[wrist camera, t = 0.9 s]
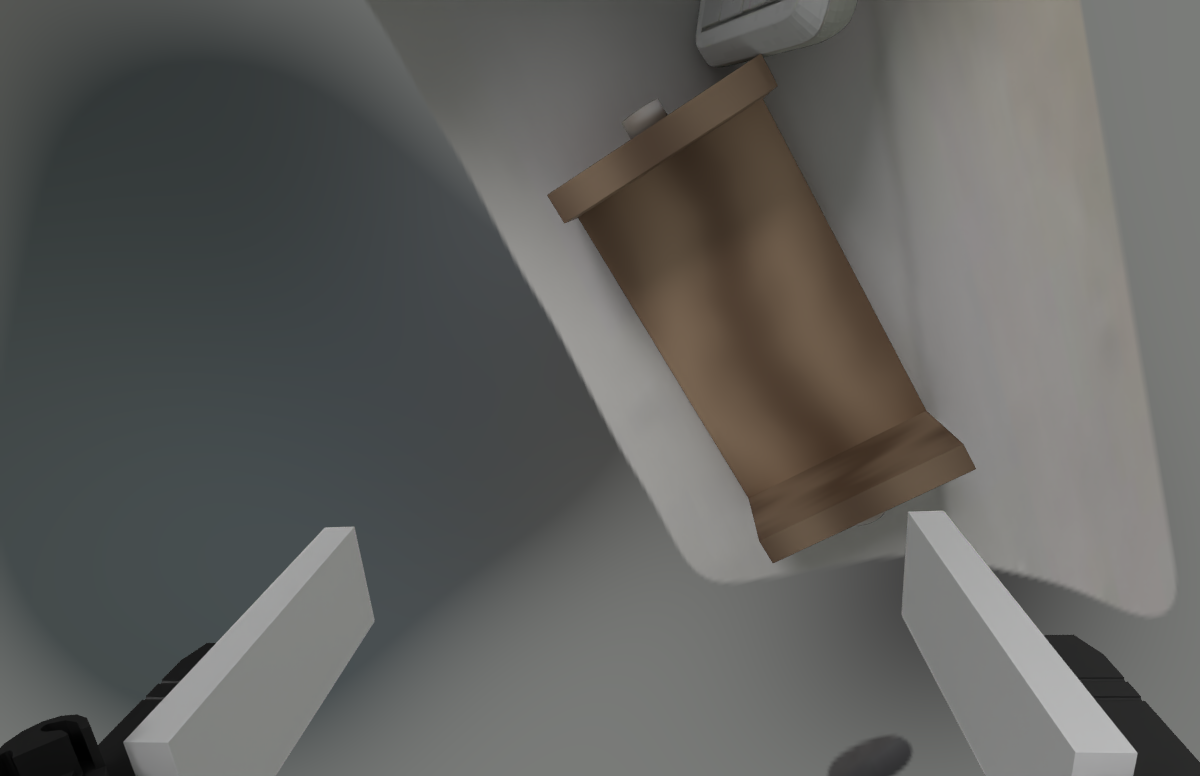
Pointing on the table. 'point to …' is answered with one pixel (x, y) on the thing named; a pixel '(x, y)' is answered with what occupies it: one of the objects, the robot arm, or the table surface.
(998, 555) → the table surface
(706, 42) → the digital clock
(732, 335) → the walnut holder
